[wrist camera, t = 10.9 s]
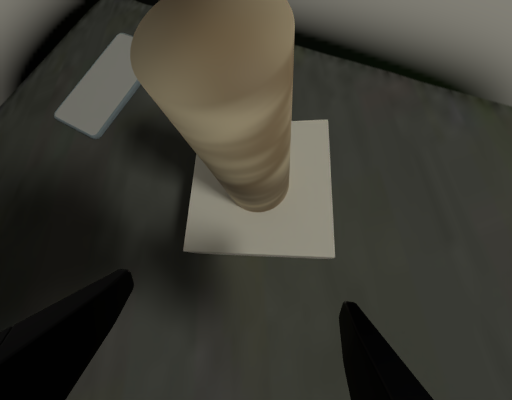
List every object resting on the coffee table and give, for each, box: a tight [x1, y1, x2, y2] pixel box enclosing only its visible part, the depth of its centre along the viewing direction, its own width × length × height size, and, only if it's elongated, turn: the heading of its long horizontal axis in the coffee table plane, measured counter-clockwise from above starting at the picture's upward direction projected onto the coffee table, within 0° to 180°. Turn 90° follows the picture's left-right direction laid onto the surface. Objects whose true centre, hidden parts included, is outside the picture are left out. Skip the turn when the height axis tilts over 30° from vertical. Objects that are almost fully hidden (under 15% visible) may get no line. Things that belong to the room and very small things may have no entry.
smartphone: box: [54, 33, 141, 139], centre depth 29 cm, size 8×1×15 cm
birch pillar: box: [130, 0, 295, 212], centre depth 13 cm, size 5×5×13 cm
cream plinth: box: [183, 120, 335, 259], centre depth 21 cm, size 12×12×3 cm
